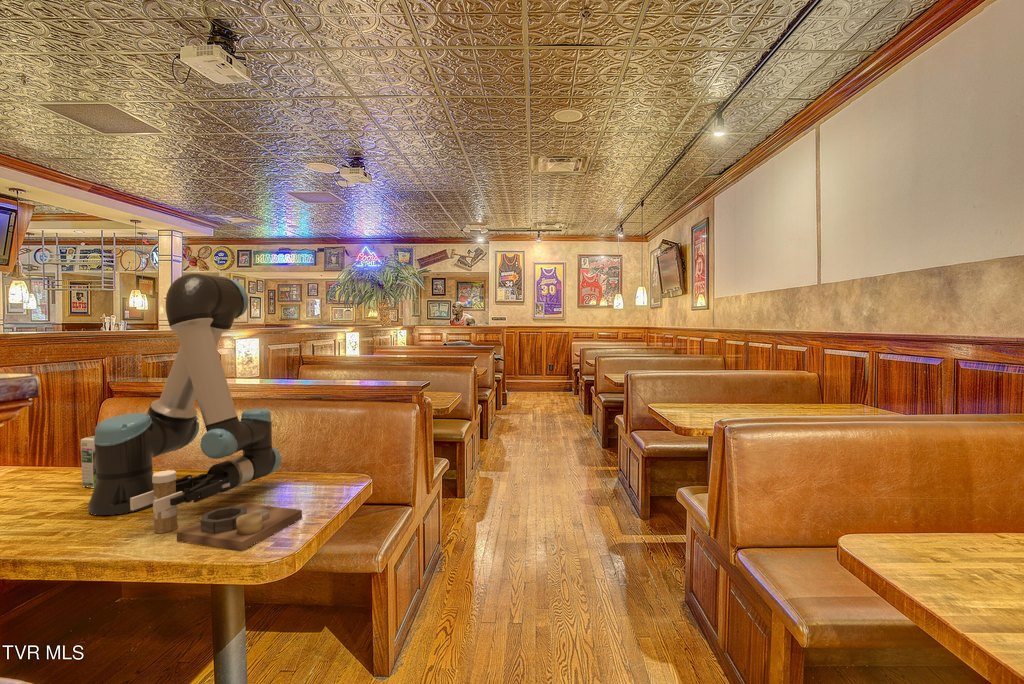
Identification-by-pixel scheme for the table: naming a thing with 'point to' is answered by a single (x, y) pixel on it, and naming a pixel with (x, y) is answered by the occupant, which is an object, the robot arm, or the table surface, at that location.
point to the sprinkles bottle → (162, 487)
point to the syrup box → (88, 462)
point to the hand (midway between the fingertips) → (143, 505)
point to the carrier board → (238, 540)
